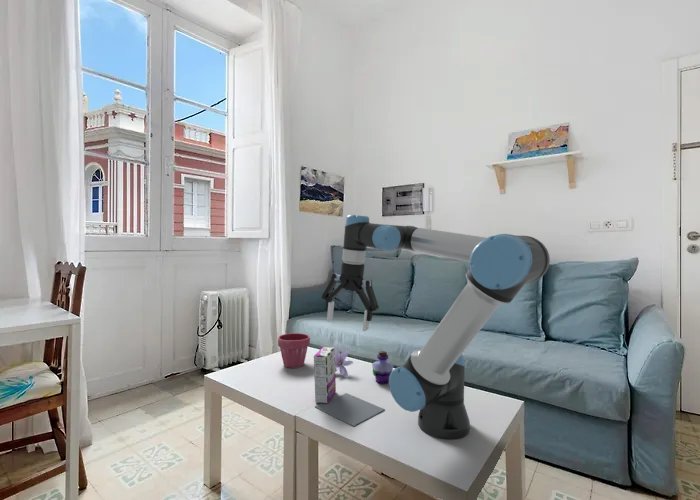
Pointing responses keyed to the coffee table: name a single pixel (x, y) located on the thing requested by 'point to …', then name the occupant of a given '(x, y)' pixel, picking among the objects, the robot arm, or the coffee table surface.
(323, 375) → the candy bar box
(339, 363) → the water lily
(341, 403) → the mat
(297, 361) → the plant pot
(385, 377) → the potion bottle
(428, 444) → the coffee table surface
